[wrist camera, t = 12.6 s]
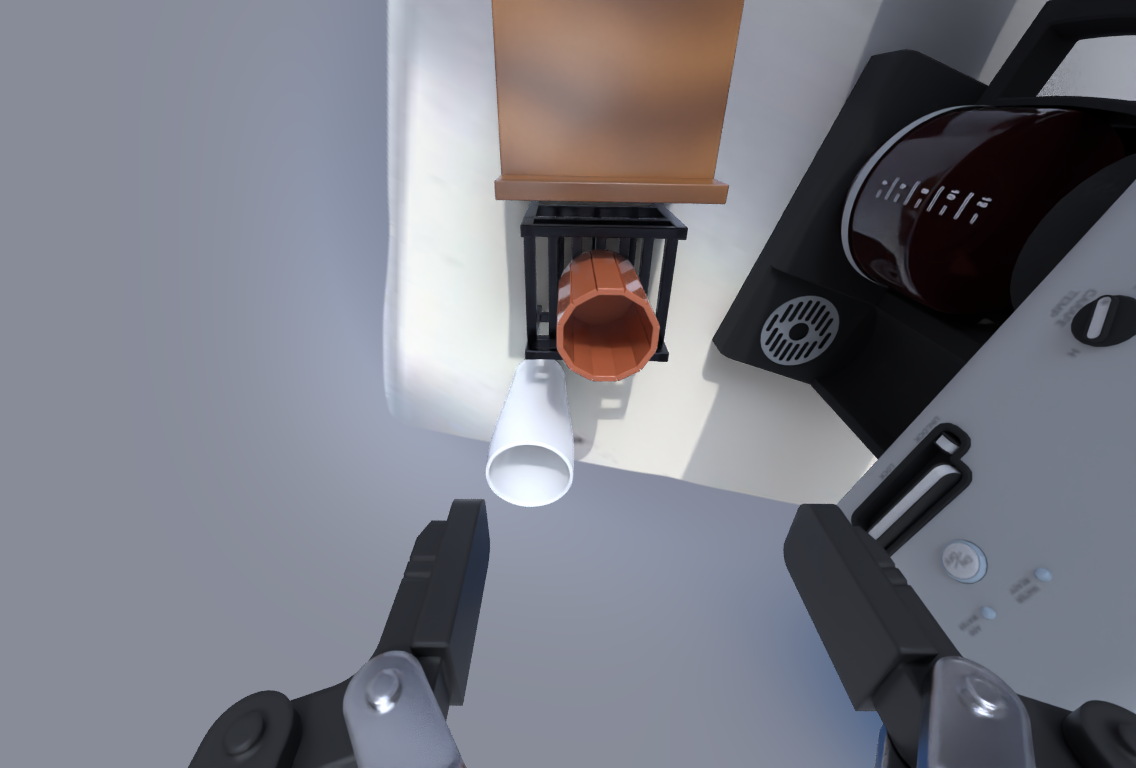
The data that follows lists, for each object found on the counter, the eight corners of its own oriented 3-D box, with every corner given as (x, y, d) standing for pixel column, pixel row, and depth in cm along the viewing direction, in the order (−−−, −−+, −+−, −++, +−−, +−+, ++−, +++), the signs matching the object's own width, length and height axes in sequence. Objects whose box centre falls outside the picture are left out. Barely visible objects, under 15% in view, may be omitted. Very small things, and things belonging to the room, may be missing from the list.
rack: (530, 200, 37) (520, 224, 29) (661, 203, 37) (688, 227, 29) (533, 312, 42) (525, 360, 34) (648, 314, 42) (667, 362, 34)
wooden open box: (511, 15, 31) (479, -42, 20) (697, 20, 31) (771, -35, 20) (517, 174, 36) (495, 200, 25) (676, 177, 36) (725, 204, 25)
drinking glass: (501, 350, 44) (474, 446, 31) (568, 343, 44) (568, 436, 31) (513, 406, 48) (494, 512, 35) (575, 399, 47) (579, 504, 34)
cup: (559, 248, 32) (556, 287, 24) (642, 249, 32) (665, 289, 24) (558, 325, 35) (556, 380, 27) (634, 326, 35) (652, 382, 27)
